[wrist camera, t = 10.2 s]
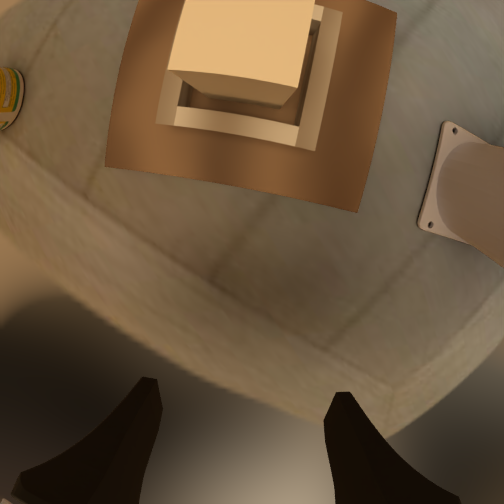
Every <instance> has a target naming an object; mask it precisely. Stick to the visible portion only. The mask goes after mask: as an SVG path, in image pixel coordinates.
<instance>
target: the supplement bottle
mask: <svg viewBox="0 0 504 504" xmlns="http://www.w3.org/2000/svg"><path fill="white" fill-rule="evenodd" d="M23 93H24V83H23V79H22V76H21V74H20V73H19V72H18V71H17V70H16V69H12V68H4V67H0V130H3V129H5V128H6V127H8V126H9V125H10V124H11V123H12V122H13V121H14V119H15V118H16V116H17V114H18V112H19V110H20V107H21V103H22V99H23Z"/></svg>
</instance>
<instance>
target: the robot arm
mask: <svg viewBox="0 0 504 504" xmlns="http://www.w3.org/2000/svg"><path fill="white" fill-rule="evenodd" d="M453 128H454V130H455V132H454V134H453V132H452V129H453ZM430 221H431V224H430V226H429V227H428V223H429V222H430ZM417 223H418V226H419V228H421V229H422V230H425V231H429V232H432V233H435V234H438V235H442V236H445V237H448V238H451V239H454V240H457V241H460V242H463V243H466V244H469V245H472V246H473V247H475V248H476V249H478V250H479V251H481V252H482V253H484V254H485V255H486V256H488V257H489V258H491V259H492V260H493V261H495V262H496V263H497V264H499V265H500V266H501V267H503V268H504V147H499V146H494V145H490V144H488V143H487V142H485V141H483V140H482V139H480V138H479V137H477V136H475V135H474V134H472V133H470V132H468V131H467V130H465V129H463V128H461V127H460V126H458V125H456V124H454V123H452V122H450V121H445V122H444V123H443V124H442V128H441V133H440V138H439V143H438V148H437V152H436V157H435V161H434V165H433V169H432V173H431V177H430V181H429V184H428V188H427V192H426V195H425V198H424V202H423V205H422V208H421V212H420V215H419V218H418V222H417ZM162 411H163V407H162V402H161V397H160V393H159V388H158V382H157V379H153V378H147V377H142V378H141V379H140V380H139V381H138V382H137V384H136V385H135V386H134V387H133V389H132V390H131V391H130V392H129V393H128V395H127V396H126V397H125V398H124V399H123V400H122V401H121V403H120V404H119V405H118V406H117V407H116V408H115V409H114V410H113V411H112V412H111V414H110V415H108V416H107V417H106V419H104V421H102V422H101V423H100V424H99V425H98V426H97V427H96V428H95V429H94V430H93V431H92V432H90V433H89V434H88V435H87V436H85V437H84V438H83V439H82V440H80V441H79V442H78V443H76V444H75V445H73V446H72V447H70V448H69V449H68V450H66V451H64V452H63V453H61V454H59V455H58V456H56V457H54V458H52V459H50V460H48V461H47V462H45V463H43V464H40V465H38V466H35V467H33V468H31V469H28V470H26V471H23V472H21V473H20V475H19V476H18V478H17V481H16V483H15V485H14V487H13V490H12V492H11V496H12V497H13V498H14V499H15V500H17V501H18V502H19V503H21V504H139V499H140V493H141V487H142V482H143V477H144V473H145V470H146V467H147V464H148V460H149V457H150V455H151V452H152V448H153V445H154V442H155V439H156V436H157V433H158V430H159V426H160V421H161V416H162ZM324 433H325V443H326V448H327V453H328V458H329V463H330V467H331V472H332V477H333V482H334V489H335V503H336V504H461V501H460V499H459V497H458V496H456V495H454V494H452V493H450V492H448V491H446V490H444V489H442V488H441V487H439V486H437V485H436V484H434V483H433V482H431V481H429V480H428V479H427V478H425V477H424V476H423V475H421V474H420V473H419V472H417V471H416V470H415V469H413V468H412V467H411V466H410V465H409V464H408V463H407V462H406V461H405V460H403V459H402V458H401V457H400V456H399V455H398V454H397V453H396V452H395V451H394V449H393V448H392V447H391V446H390V445H389V444H388V443H387V442H386V440H385V439H384V438H383V437H382V436H381V434H380V433H379V432H378V430H377V429H376V428H375V426H374V425H373V424H372V423H371V421H370V420H369V418H368V417H367V416H366V414H365V413H364V411H363V410H362V408H361V407H360V406H359V404H358V403H357V401H356V400H355V398H354V397H353V395H352V394H351V393H350V392H336V394H335V396H334V398H333V400H332V403H331V405H330V407H329V410H328V412H327V414H326V416H325V418H324ZM1 504H12V503H10V502H9V501H7V500H5V499H3V500H2V502H1Z"/></svg>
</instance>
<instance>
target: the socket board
mask: <svg viewBox="0 0 504 504" xmlns="http://www.w3.org/2000/svg"><path fill="white" fill-rule="evenodd" d="M185 1H186V0H139V2H138V5H137V8H136V11H135V14H134V17H133V20H132V23H131V27H130V30H129V34H128V37H127V41H126V45H125V48H124V52H123V56H122V61H121V65H120V69H119V74H118V79H117V83H116V88H115V94H114V99H113V105H112V111H111V117H110V124H109V131H108V139H107V147H106V157H105V167H111V168H120V169H128V170H136V171H143V172H151V173H158V174H165V175H172V176H178V177H185V178H191V179H197V180H203V181H209V182H215V183H220V184H226V185H231V186H237V187H242V188H247V189H253V190H258V191H263V192H268V193H272V194H277V195H282V196H287V197H291V198H296V199H301V200H305V201H309V202H314V203H318V204H323V205H327V206H331V207H335V208H339V209H343V210H347V211H351V212H355V213H357V212H358V209H359V205H360V202H361V198H362V195H363V191H364V187H365V184H366V180H367V176H368V172H369V168H370V164H371V160H372V156H373V152H374V148H375V143H376V139H377V134H378V130H379V125H380V120H381V116H382V111H383V106H384V100H385V95H386V90H387V84H388V78H389V72H390V66H391V59H392V52H393V45H394V37H395V28H396V19H397V13H396V12H393V11H391V10H389V9H386V8H384V7H382V6H379V5H377V4H374V3H371V2H369V1H366V0H315V4H314V9H313V14H312V19H311V24H310V29H309V34H308V39H307V44H306V49H305V54H304V59H303V64H302V69H301V74H300V79H299V84H298V88H297V89H296V90H295V92H294V93H293V94H292V95H291V96H290V97H289V99H288V100H287V101H286V102H285V103H284V104H283V106H282V107H281V108H280V109H274V108H269V107H263V106H258V105H253V104H247V103H241V102H234V101H228V100H221V99H213V98H208V97H207V96H205V95H204V94H202V93H201V92H200V91H198V90H197V89H195V88H194V87H192V86H191V85H190V84H188V83H187V82H185V81H184V80H182V79H181V78H179V77H178V76H176V75H175V74H173V73H172V72H170V71H169V70H167V69H168V64H169V60H170V56H171V51H172V47H173V43H174V39H175V36H176V32H177V28H178V24H179V21H180V17H181V14H182V10H183V7H184V4H185Z"/></svg>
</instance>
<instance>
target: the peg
mask: <svg viewBox="0 0 504 504" xmlns="http://www.w3.org/2000/svg"><path fill="white" fill-rule="evenodd" d="M314 4H315V0H186V1H185V4H184V7H183V10H182V14H181V17H180V21H179V24H178V28H177V32H176V36H175V39H174V43H173V47H172V51H171V56H170V60H169V64H168V69H167V70H169V71H170V72H172V73H173V74H175V75H176V76H178V77H179V78H181V79H182V80H184V81H185V82H187V83H188V84H190V85H191V86H192V87H194V88H195V89H197V90H198V91H200V92H201V93H202V94H204V95H205V96H207V97H208V98H213V99H221V100H228V101H234V102H241V103H247V104H253V105H258V106H263V107H269V108H274V109H280V108H281V107H282V106H283V104H284V103H285V102H286V101H287V100H288V99H289V97H290V96H291V95H292V94H293V93H294V92H295V90H296V89H297V88H298V84H299V79H300V74H301V69H302V64H303V59H304V54H305V49H306V44H307V39H308V34H309V29H310V24H311V19H312V14H313V9H314Z"/></svg>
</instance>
